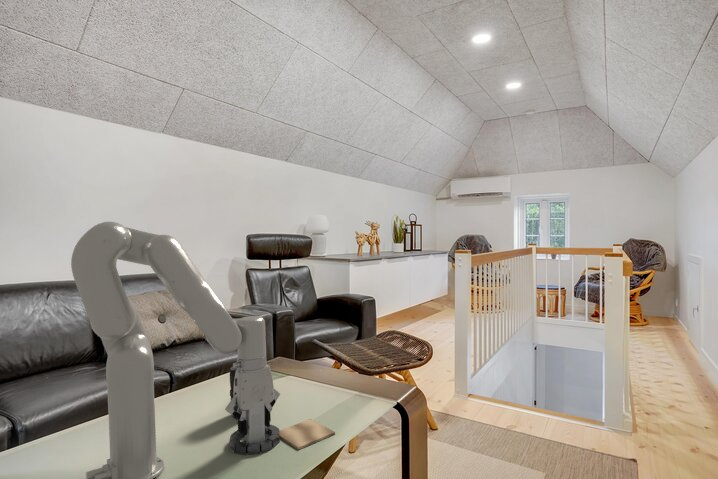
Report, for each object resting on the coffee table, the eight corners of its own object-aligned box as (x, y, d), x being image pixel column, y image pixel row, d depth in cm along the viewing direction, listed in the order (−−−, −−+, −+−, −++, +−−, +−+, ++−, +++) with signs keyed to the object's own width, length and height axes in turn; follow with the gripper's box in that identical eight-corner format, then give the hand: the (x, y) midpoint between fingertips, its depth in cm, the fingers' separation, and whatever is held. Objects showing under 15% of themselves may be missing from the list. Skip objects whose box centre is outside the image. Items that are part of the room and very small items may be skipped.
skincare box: (244, 439, 112) (242, 395, 112) (260, 435, 114) (258, 392, 114) (249, 449, 106) (247, 403, 106) (266, 444, 108) (264, 399, 109)
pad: (298, 449, 105) (298, 447, 105) (274, 434, 114) (274, 432, 114) (335, 434, 113) (335, 431, 113) (310, 420, 122) (310, 418, 122)
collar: (243, 460, 101) (243, 452, 101) (222, 442, 111) (221, 434, 111) (288, 441, 110) (288, 434, 110) (265, 426, 119) (265, 419, 119)
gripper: (227, 373, 102) (229, 445, 102) (287, 358, 113) (289, 423, 113) (215, 367, 107) (218, 435, 107) (273, 353, 119) (276, 415, 119)
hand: (254, 428), depth 110 cm, fingers open, 6 cm apart
